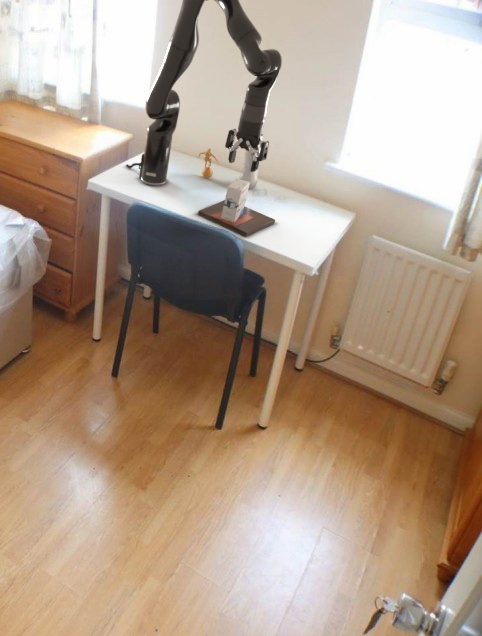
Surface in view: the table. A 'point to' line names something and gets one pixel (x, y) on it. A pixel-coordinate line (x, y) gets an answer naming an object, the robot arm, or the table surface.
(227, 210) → the ink box
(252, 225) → the counter board
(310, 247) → the table surface
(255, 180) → the plastic bottle
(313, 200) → the table surface
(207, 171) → the figurine
